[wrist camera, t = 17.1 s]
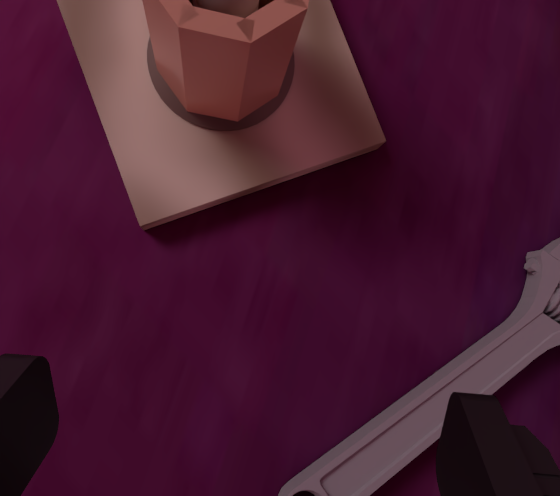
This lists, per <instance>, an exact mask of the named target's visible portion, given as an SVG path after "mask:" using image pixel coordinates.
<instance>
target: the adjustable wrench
mask: <svg viewBox="0 0 560 496" xmlns="http://www.w3.org/2000/svg"><path fill="white" fill-rule="evenodd" d="M524 269H526V270H527V279H526V283H525V286H524V290H523V293H522V297H521V299H520V301H519V303H518V305H517V307H516V309H515V310H514V311H513V312H512V314H511V315H510V316H509V317H508V318H507V319H506V320H505V321H504V322H503V323H502V324H501V325H499V326H498V327H496V328H495V329H494V330H492V331H491V332H490V333H488V334H487V335H486V336H484V337H483V338H482V339H480V340H479V341H477V342H476V343H475V344H473V345H472V346H471V347H469V348H468V349H467V350H465V351H464V352H463V353H461V354H460V355H459V356H457V357H456V358H454V359H453V360H452V361H450V362H449V363H448V364H446V365H445V366H444V367H442V368H441V369H440V370H438V371H437V372H436V373H434V374H433V375H431V376H430V377H429V378H427V379H426V380H425V381H423V382H422V383H421V384H419V385H418V386H417V387H415V388H414V389H413V390H411V391H410V392H408V393H407V394H406V395H404V396H403V397H402V398H400V399H399V400H398V401H396V402H395V403H394V404H392V405H391V406H390V407H388V408H387V409H385V410H384V411H383V412H381V413H380V414H379V415H377V416H376V417H375V418H373V419H372V420H371V421H369V422H368V423H366V424H365V425H364V426H362V427H361V428H360V429H358V430H357V431H356V432H354V433H353V434H352V435H350V436H349V437H348V438H346V439H345V440H343V441H342V442H341V443H339V444H338V445H337V446H335V447H334V448H333V449H331V450H330V451H329V452H327V453H326V454H325V455H323V456H322V457H320V458H319V459H318V460H316V461H315V462H314V463H312V464H311V465H310V466H308V467H307V468H306V469H304V470H303V471H302V472H300V473H299V474H297V475H296V476H295V477H293V478H292V479H291V480H289V481H288V482H287V483H286V484H285V485H284V486H283V487H282V488H281V490H280V492H279V494H278V496H293V495H294V494H296V493H297V492H300V491H308V492H311V493H312V494H314V495H315V496H370V495H371V494H372V493H373V492H374V491H376V490H377V489H378V488H379V487H380V486H382V485H383V484H384V483H385V482H387V481H388V480H389V479H390V478H391V477H393V476H394V475H395V474H396V473H397V472H399V471H400V470H401V469H402V468H403V467H405V466H406V465H407V464H408V463H410V462H411V461H412V460H413V459H414V458H416V457H417V456H418V455H419V454H420V453H422V452H423V451H424V450H425V449H426V448H428V447H429V446H430V445H431V444H433V443H434V442H435V441H436V440H437V439H439V438H440V435H441V431H442V427H443V422H444V418H445V414H446V410H447V406H448V401H449V398H450V396H451V394H452V393H453V392H461V393H473V394H485V395H492V394H493V393H494V392H496V391H497V390H498V389H499V388H500V387H502V386H503V385H504V384H505V383H506V382H508V381H509V380H510V379H511V378H512V377H514V376H515V375H516V374H517V373H519V372H520V371H521V370H522V369H523V368H525V367H526V366H527V365H528V364H529V363H531V362H532V361H533V360H534V359H535V358H537V357H538V356H539V355H541V354H542V353H544V352H545V351H547V350H548V349H550V348H553V347H555V346H558V345H560V238H558V239H556V240H554V241H552V242H551V243H549V244H548V245H546V246H545V247H544V248H543V249H541V250H537V251H533V252H528V253H527V256H526V263H525V265H524Z"/></svg>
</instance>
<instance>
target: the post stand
mask: <svg viewBox="0 0 560 496" xmlns="http://www.w3.org/2000/svg"><path fill="white" fill-rule="evenodd" d="M57 3H58V5H59V8H60V11H61V13H62V16H63V19H64V22H65V24H66V27H67V30H68V32H69V35H70V38H71V41H72V43H73V46H74V49H75V51H76V54H77V57H78V60H79V62H80V65H81V68H82V70H83V73H84V76H85V78H86V81H87V84H88V87H89V89H90V92H91V95H92V97H93V100H94V103H95V106H96V108H97V111H98V114H99V116H100V119H101V122H102V125H103V127H104V130H105V133H106V135H107V138H108V141H109V144H110V146H111V149H112V152H113V154H114V157H115V160H116V163H117V165H118V168H119V171H120V173H121V176H122V179H123V182H124V184H125V187H126V190H127V192H128V195H129V198H130V201H131V203H132V206H133V209H134V211H135V214H136V217H137V219H138V222H139V225H140V227H141V228H142V229H143V230H147V229H149V228H152V227H155V226H158V225H161V224H164V223H167V222H169V221H172V220H175V219H178V218H181V217H184V216H187V215H190V214H192V213H195V212H198V211H201V210H204V209H207V208H210V207H213V206H215V205H218V204H221V203H224V202H227V201H230V200H233V199H236V198H238V197H241V196H244V195H247V194H250V193H253V192H256V191H259V190H261V189H264V188H267V187H270V186H273V185H276V184H279V183H281V182H284V181H287V180H290V179H293V178H296V177H299V176H302V175H304V174H307V173H310V172H313V171H316V170H319V169H322V168H325V167H327V166H330V165H333V164H336V163H339V162H342V161H345V160H348V159H350V158H353V157H356V156H359V155H362V154H365V153H368V152H371V151H373V150H376V149H378V148H379V147H380V146H381V145H382V144H383V143H384V142H386V139H385V137H384V134H383V132H382V129H381V127H380V124H379V122H378V119H377V117H376V114H375V112H374V109H373V107H372V104H371V102H370V99H369V97H368V94H367V92H366V89H365V87H364V84H363V82H362V79H361V77H360V74H359V72H358V69H357V67H356V64H355V62H354V59H353V57H352V54H351V52H350V49H349V47H348V44H347V42H346V39H345V37H344V34H343V32H342V29H341V27H340V24H339V22H338V19H337V16H336V14H335V11H334V9H333V6H332V4H331V1H330V0H309V3H308V9H307V12H306V15H305V18H304V21H303V24H302V27H301V29H300V32H299V35H298V38H297V41H296V44H295V47H294V50H293V53H292V56H291V59H290V62H289V65H288V67H287V70H286V73H285V76H284V79H283V82H282V85H281V88H280V91H279V94H278V96H276V97H275V98H273V99H272V100H270V101H269V102H267V103H266V104H264V105H262V106H261V107H259V108H258V109H256V110H255V111H253V112H252V113H250V114H249V115H247V116H246V117H244V118H242V119H241V120H239V121H238V122H237V121H232V120H227V119H222V118H217V117H212V116H207V115H202V114H197V113H192V112H188V111H186V109H185V108H184V106H183V105H182V104H181V102H180V101H179V99H178V98H177V97H176V95H175V94H174V93H173V91H172V90H171V88H170V87H169V86H168V84H167V83H166V81H165V80H164V79H163V77H162V76H161V74H160V73H159V72H158V70H157V66H156V62H155V57H154V53H153V48H152V43H151V39H150V34H149V29H148V25H147V20H146V15H145V11H144V6H143V1H142V0H57ZM258 5H259V0H193V6H194V7H198V8H202V9H207V10H211V11H216V12H220V13H224V14H229V15H233V16H237V17H242V18H246V17H247V16H249V15H251V14H252V13H254V12H256V11H257V10H258Z"/></svg>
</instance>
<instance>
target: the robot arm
mask: <svg viewBox="0 0 560 496" xmlns="http://www.w3.org/2000/svg"><path fill="white" fill-rule="evenodd" d="M58 424H59V414H58V408H57V403H56V398H55V393H54V387H53V382H52V377H51V371H50V366H49V363H48V361H47V359H46V358H45V357H42V356H31V355H19V354H3V355H1V356H0V496H21V494H22V492H23V491H24V489H25V488H26V486H27V485H28V483H29V481H30V480H31V478H32V477H33V475H34V474H35V472H36V470H37V469H38V467H39V466H40V464H41V463H42V461H43V459H44V458H45V456H46V455H47V453H48V451H49V450H50V448H51V447H52V445H53V442H54V440H55V437H56V434H57V430H58ZM436 475H437V482H438V487H439V491H440V495H441V496H560V471H559V469H558V467H557V465H556V463H555V462H554V460H553V458H552V456H551V454H550V452H549V450H548V449H547V448H546V447H545V446H544V445H543V444H542V443H541V442H540V441H539V440H538V439H537V438H536V437H535V436H534V435H533V434H532V433H531V432H530V431H529V430H528V429H527V428H526V427H525V426H517V425H510V424H509V422H508V420H507V418H506V415H505V413H504V411H503V409H502V407H501V405H500V403H499V401H498V399H497V398H496V397H495V396H494V395H485V394H473V393H461V392H453V393H452V394H451V396H450V398H449V401H448V406H447V410H446V414H445V418H444V422H443V427H442V431H441V435H440V439H439V443H438V448H437V454H436Z"/></svg>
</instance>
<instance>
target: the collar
mask: <svg viewBox="0 0 560 496" xmlns="http://www.w3.org/2000/svg"><path fill="white" fill-rule="evenodd" d="M142 1H143V6H144V11H145V15H146V20H147V25H148V29H149V34H150V39H151V43H152V48H153V53H154V57H155V62H156V66H157V70H158V72H159V73H160V74H161V76H162V77H163V79H164V80H165V81H166V83H167V84H168V86H169V87H170V88H171V90H172V91H173V93H174V94H175V95H176V97H177V98H178V99H179V101H180V102H181V104H182V105H183V106H184V108H185V109H186V111H188V112H192V113H197V114H202V115H207V116H212V117H217V118H222V119H227V120H232V121H237V122H238V121H239V120H241V119H242V118H244V117H246V116H247V115H249V114H250V113H252V112H253V111H255V110H256V109H258V108H259V107H261V106H262V105H264V104H266V103H267V102H269V101H270V100H272V99H273V98H275V97H276V96H278V94H279V91H280V88H281V85H282V82H283V79H284V76H285V73H286V70H287V67H288V65H289V62H290V59H291V56H292V53H293V50H294V47H295V44H296V41H297V38H298V35H299V32H300V29H301V27H302V24H303V21H304V18H305V15H306V12H307V9H308V3H309V0H259V5H258V10H257V11H256V12H254V13H252V14H251V15H249V16H247V17H246V18H242V17H237V16H233V15H229V14H224V13H220V12H216V11H211V10H207V9H202V8H198V7H194V6H193V0H142Z"/></svg>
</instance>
